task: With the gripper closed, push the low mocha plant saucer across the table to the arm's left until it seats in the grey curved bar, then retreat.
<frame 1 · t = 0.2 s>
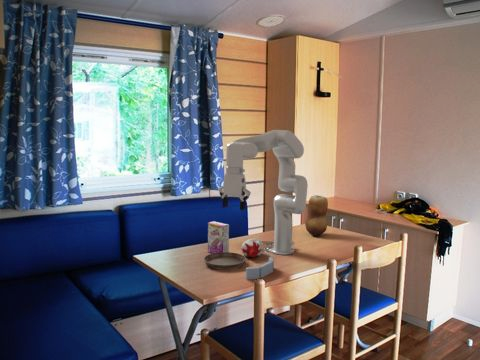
hand: (233, 208, 196), 31 cm above the table, fingers open, 9 cm apart
candy bar box: (218, 253, 230), on the table
butternut squash: (315, 235, 271), on the table
plant saucer: (224, 264, 214), on the table
grey curved bar: (265, 274, 200), on the table
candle: (251, 257, 226), on the table
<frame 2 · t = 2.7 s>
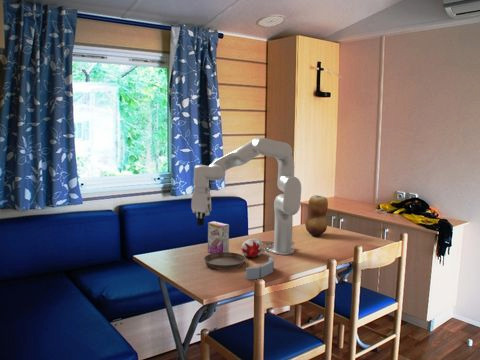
hand: (200, 225, 220), 17 cm above the table, fingers closed
nothing on the table moved.
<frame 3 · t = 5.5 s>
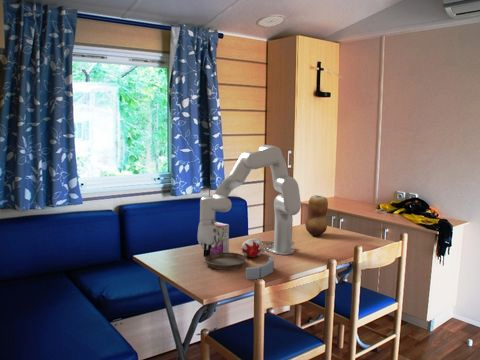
hand: (206, 256, 220), 1 cm above the table, fingers closed
plant saucer: (225, 264, 213), on the table, touching gripper
everything else where it was.
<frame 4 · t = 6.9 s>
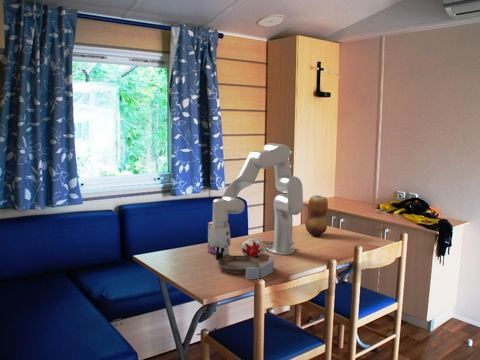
hand: (219, 259, 215), 1 cm above the table, fingers closed
plant saucer: (238, 268, 209), on the table, touching gripper
everything else where it was.
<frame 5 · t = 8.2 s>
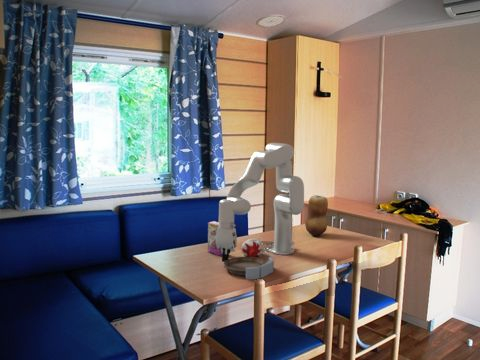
hand: (225, 261, 213), 2 cm above the table, fingers closed
plant saucer: (245, 270, 206), on the table, touching grey curved bar, gripper
everything else where it was.
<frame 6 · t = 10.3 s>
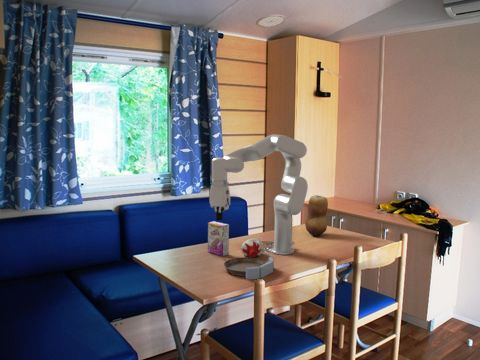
hand: (219, 219, 213), 22 cm above the table, fingers closed
plant saucer: (245, 270, 206), on the table
everything else where it was.
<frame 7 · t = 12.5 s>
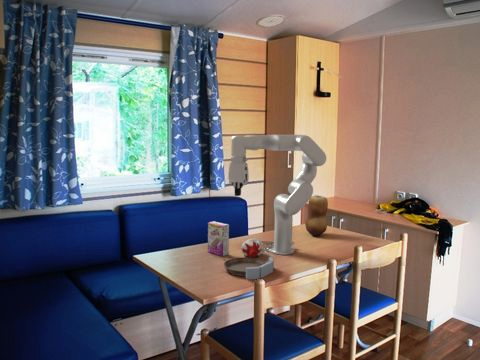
hand: (237, 195, 222), 32 cm above the table, fingers closed
nothing on the table moved.
at the end: plant saucer 0.8 cm from the target spot on the table beside the grey curved bar, on the table; plant saucer moved 12.7 cm from its start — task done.
